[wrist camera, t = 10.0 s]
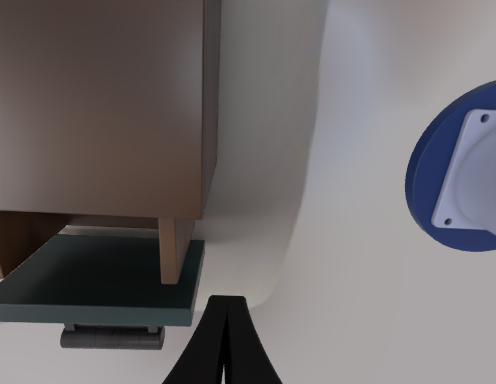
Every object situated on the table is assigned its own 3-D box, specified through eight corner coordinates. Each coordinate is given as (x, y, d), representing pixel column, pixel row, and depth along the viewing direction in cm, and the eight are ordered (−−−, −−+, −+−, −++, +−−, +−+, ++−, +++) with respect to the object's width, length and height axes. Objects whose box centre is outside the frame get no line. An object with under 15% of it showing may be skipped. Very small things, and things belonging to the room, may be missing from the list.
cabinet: (216, 163, 20) (202, 220, 12) (41, 153, 19) (-100, 206, 11) (224, -91, 15) (208, -286, 7) (-11, -115, 14) (-327, -363, 6)
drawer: (204, 300, 23) (191, 384, 17) (68, 296, 22) (1, 381, 16) (208, 71, 17) (190, 65, 11) (22, 57, 16) (-114, 42, 10)
